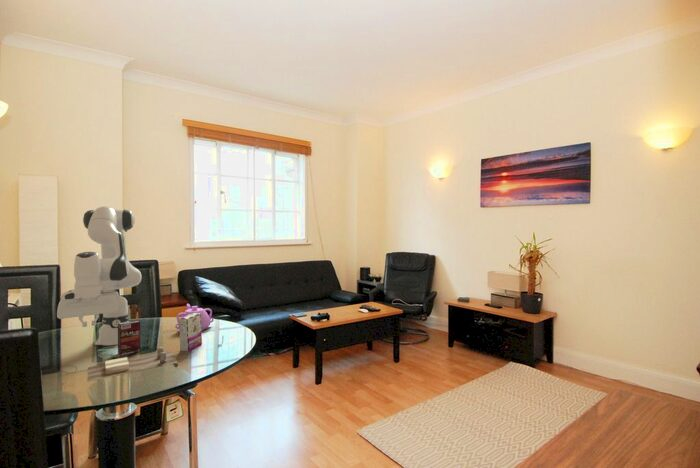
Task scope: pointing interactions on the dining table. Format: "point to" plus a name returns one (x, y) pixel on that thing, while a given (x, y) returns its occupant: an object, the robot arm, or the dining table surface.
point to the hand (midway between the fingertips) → (89, 325)
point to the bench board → (135, 365)
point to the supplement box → (128, 337)
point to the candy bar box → (190, 331)
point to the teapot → (204, 316)
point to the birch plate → (116, 365)
